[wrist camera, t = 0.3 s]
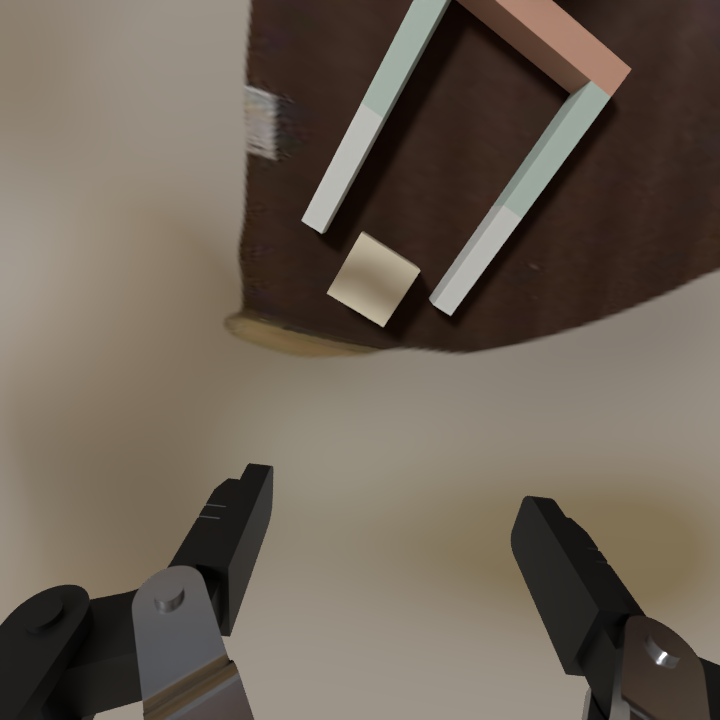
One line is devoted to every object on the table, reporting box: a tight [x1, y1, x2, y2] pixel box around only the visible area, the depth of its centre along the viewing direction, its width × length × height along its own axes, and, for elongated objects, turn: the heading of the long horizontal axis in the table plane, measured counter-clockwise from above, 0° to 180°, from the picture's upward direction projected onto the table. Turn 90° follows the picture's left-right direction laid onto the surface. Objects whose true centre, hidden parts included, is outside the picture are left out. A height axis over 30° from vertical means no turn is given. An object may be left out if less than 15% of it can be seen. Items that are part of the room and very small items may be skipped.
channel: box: [302, 0, 631, 316], centre depth 30 cm, size 22×16×3 cm
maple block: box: [327, 231, 421, 327], centre depth 33 cm, size 6×6×4 cm
